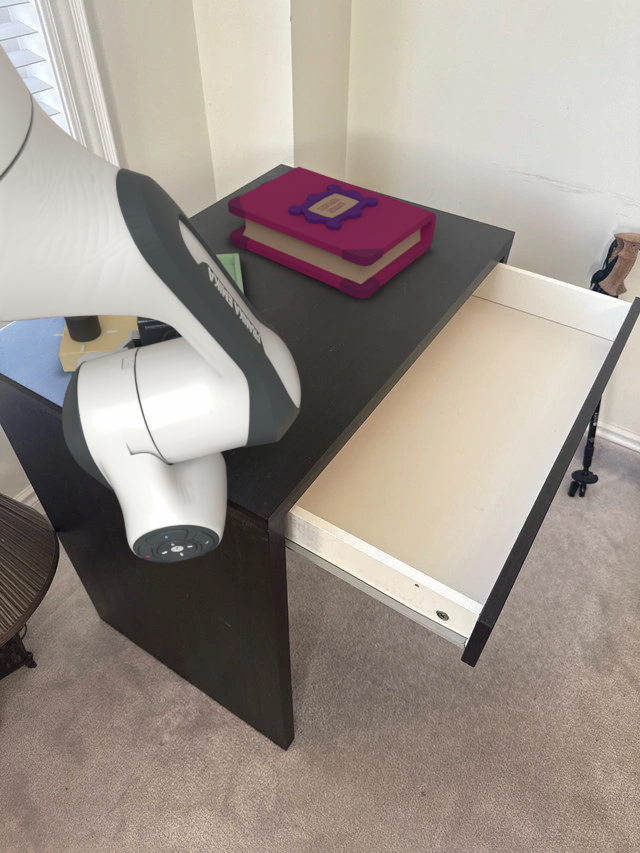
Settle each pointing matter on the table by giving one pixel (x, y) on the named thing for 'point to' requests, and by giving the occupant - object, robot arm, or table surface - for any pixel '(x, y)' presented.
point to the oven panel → (109, 339)
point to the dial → (83, 327)
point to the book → (332, 230)
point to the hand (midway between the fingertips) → (177, 332)
